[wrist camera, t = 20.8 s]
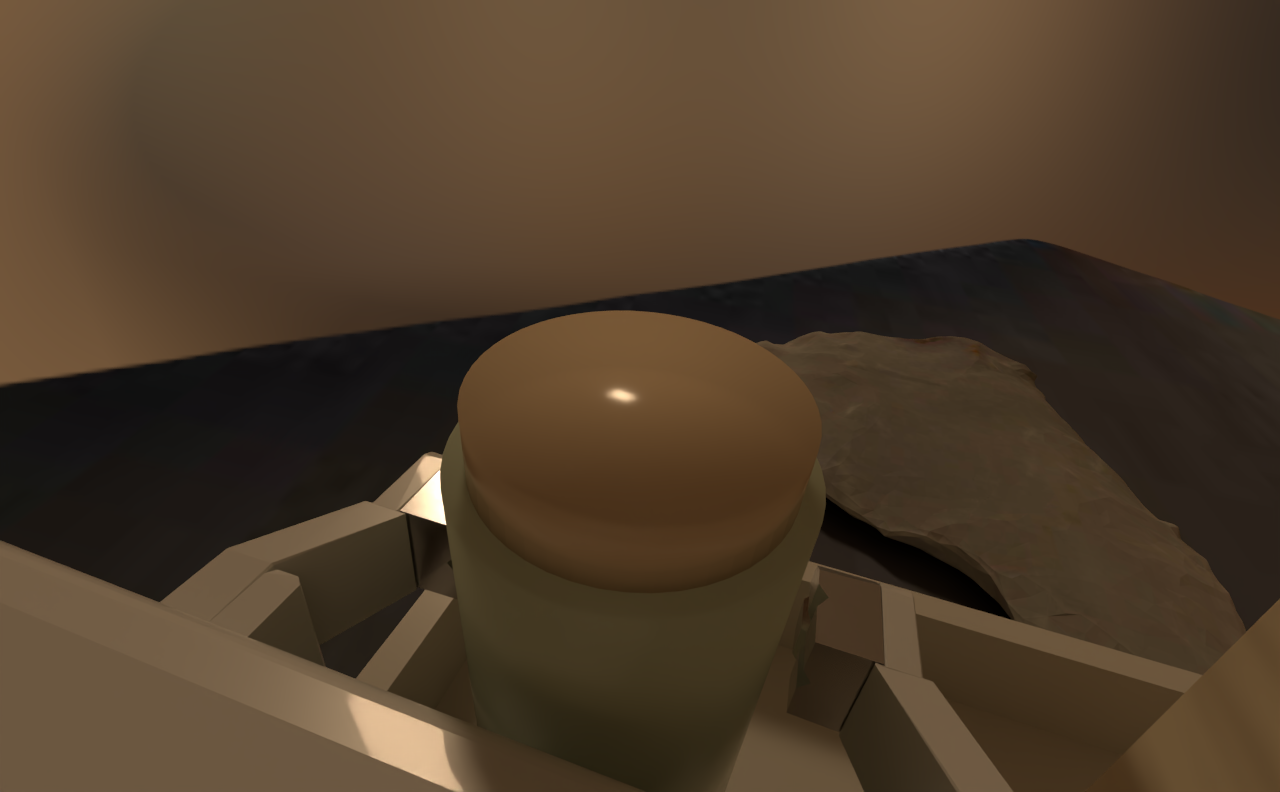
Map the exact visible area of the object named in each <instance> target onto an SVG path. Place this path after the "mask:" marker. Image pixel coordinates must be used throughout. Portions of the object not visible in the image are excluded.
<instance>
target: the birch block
mask: <svg viewBox="0 0 1280 792" xmlns="http://www.w3.org/2000/svg"><path fill="white" fill-rule="evenodd" d="M1085 792H1280V599H1279V600H1278V601H1277V602H1276V603H1275V604H1274V605H1273V606H1272V607H1271V608H1270V609H1269V610H1268V611H1267V612H1266V613H1265V614H1264V615H1263V616H1262V617H1261V618H1260V619H1259V620H1258V621H1257V622H1256V623H1255V624H1254V625H1253V626H1252V627H1251V628H1250V629H1249V630H1248V631H1247V632H1246V633H1245V634H1244V635H1243V636H1242V637H1241V638H1240V639H1239V640H1238V641H1237V642H1236V643H1235V644H1234V645H1233V646H1232V647H1231V648H1230V649H1229V650H1228V651H1227V652H1226V653H1225V654H1224V655H1223V656H1222V657H1221V658H1220V659H1219V660H1218V661H1217V662H1216V663H1215V664H1214V665H1213V666H1212V667H1211V668H1209V669H1208V670H1207V671H1206V672H1205V673H1204V674H1203V675H1202V676H1201V677H1200V678H1199V679H1198V680H1197V681H1196V682H1195V683H1194V684H1193V685H1192V686H1191V687H1190V688H1189V689H1188V690H1187V691H1186V692H1185V693H1184V694H1183V695H1182V696H1181V697H1180V698H1179V699H1178V700H1177V701H1176V702H1175V703H1174V704H1173V705H1172V706H1171V707H1170V708H1169V709H1168V710H1167V711H1166V712H1165V713H1164V714H1163V715H1162V716H1161V717H1160V718H1159V719H1158V720H1157V721H1156V722H1155V723H1154V724H1153V725H1152V726H1151V727H1150V728H1149V729H1148V730H1147V731H1146V732H1145V733H1144V734H1143V735H1142V736H1141V737H1140V738H1139V739H1138V740H1137V741H1136V742H1135V743H1134V744H1133V745H1132V746H1131V747H1130V748H1129V749H1128V750H1127V751H1126V752H1125V753H1124V754H1123V755H1122V756H1121V757H1120V758H1119V759H1118V760H1117V761H1116V762H1115V763H1114V764H1113V765H1112V766H1111V767H1110V768H1109V769H1108V770H1107V771H1106V772H1105V773H1104V774H1103V775H1102V776H1101V777H1100V778H1099V779H1098V780H1097V781H1095V782H1094V783H1093V784H1092V785H1091V786H1090V787H1089V788H1088V789H1087V790H1086V791H1085Z"/></svg>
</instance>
